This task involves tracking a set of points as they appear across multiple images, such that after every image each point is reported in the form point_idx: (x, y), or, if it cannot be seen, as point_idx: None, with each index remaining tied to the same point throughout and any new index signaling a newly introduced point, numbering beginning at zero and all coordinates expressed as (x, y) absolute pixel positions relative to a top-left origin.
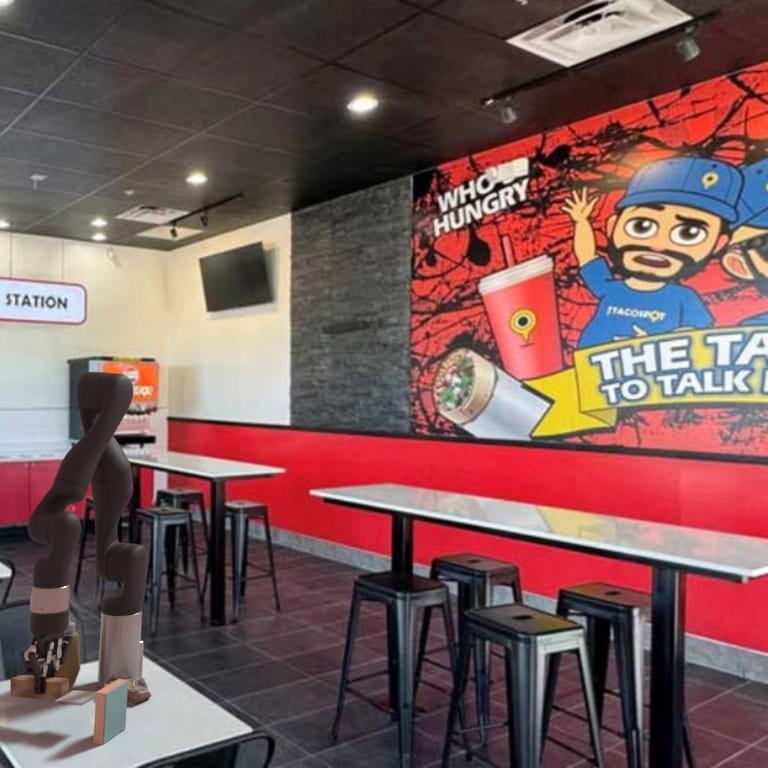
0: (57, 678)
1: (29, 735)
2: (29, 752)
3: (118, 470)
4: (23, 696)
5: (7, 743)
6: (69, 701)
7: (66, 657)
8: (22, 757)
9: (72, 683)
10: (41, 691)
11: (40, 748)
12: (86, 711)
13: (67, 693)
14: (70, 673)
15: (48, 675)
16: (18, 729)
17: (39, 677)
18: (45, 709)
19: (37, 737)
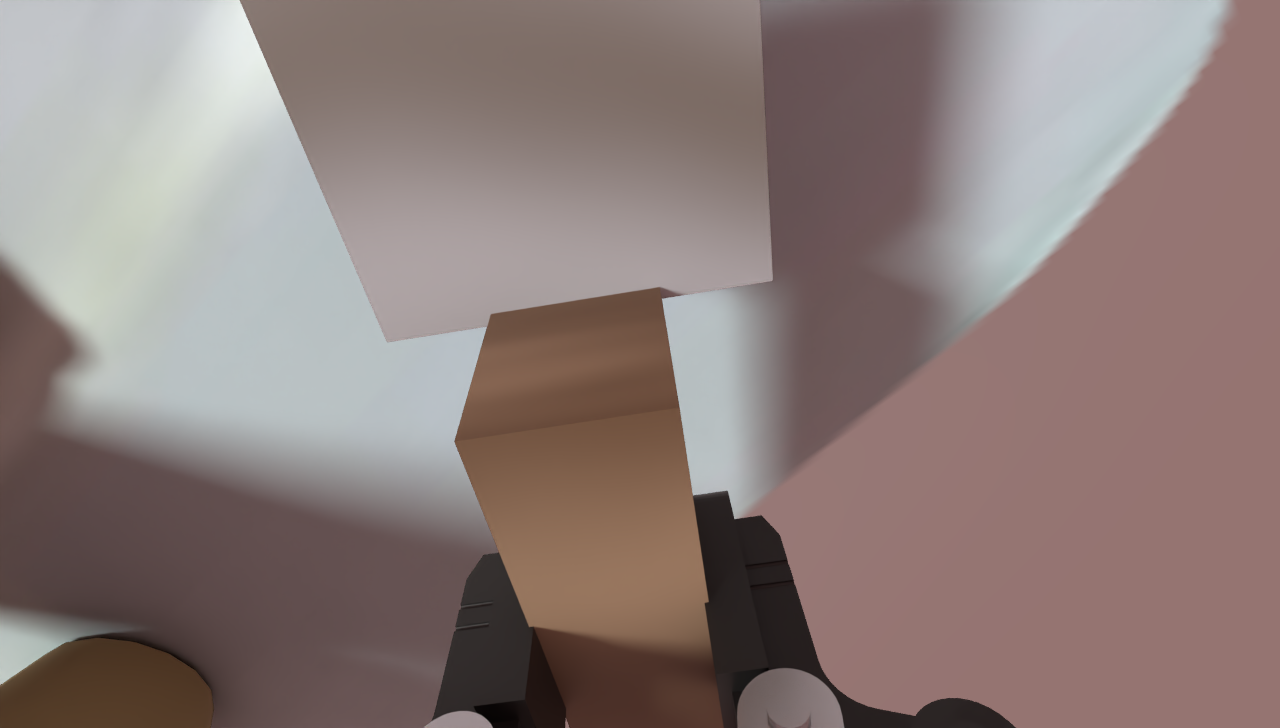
0: (545, 571)
1: (800, 305)
2: (1069, 64)
3: None
4: None
5: (962, 328)
6: (752, 44)
7: None
8: (1168, 39)
9: (67, 653)
10: (738, 525)
11: (978, 42)
12: (239, 278)
13: (523, 312)
14: (41, 724)
15: (554, 698)
16: (750, 430)
17: (835, 690)
18: (427, 520)
19: (807, 230)
